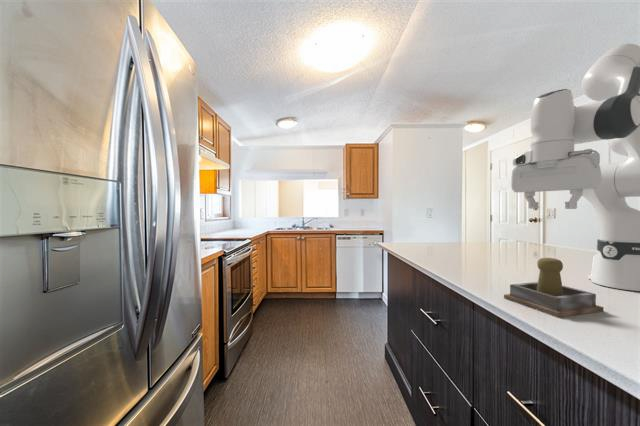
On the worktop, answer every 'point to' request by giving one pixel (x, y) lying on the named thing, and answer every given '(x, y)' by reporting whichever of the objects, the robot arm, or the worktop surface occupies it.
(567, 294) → the grey-rimmed square tray
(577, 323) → the worktop surface
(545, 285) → the cork
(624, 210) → the robot arm
